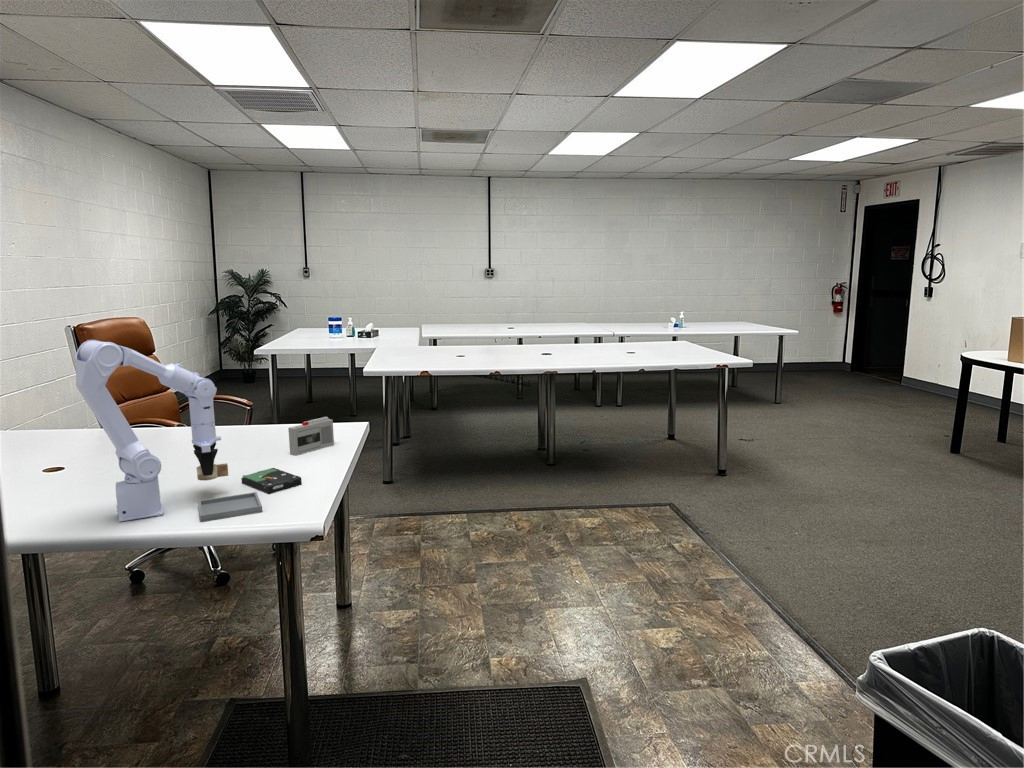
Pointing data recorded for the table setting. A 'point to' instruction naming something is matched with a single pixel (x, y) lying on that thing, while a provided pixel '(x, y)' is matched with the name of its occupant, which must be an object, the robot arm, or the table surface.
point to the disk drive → (271, 480)
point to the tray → (229, 506)
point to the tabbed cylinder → (217, 472)
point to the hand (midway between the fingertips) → (207, 472)
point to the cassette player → (311, 436)
